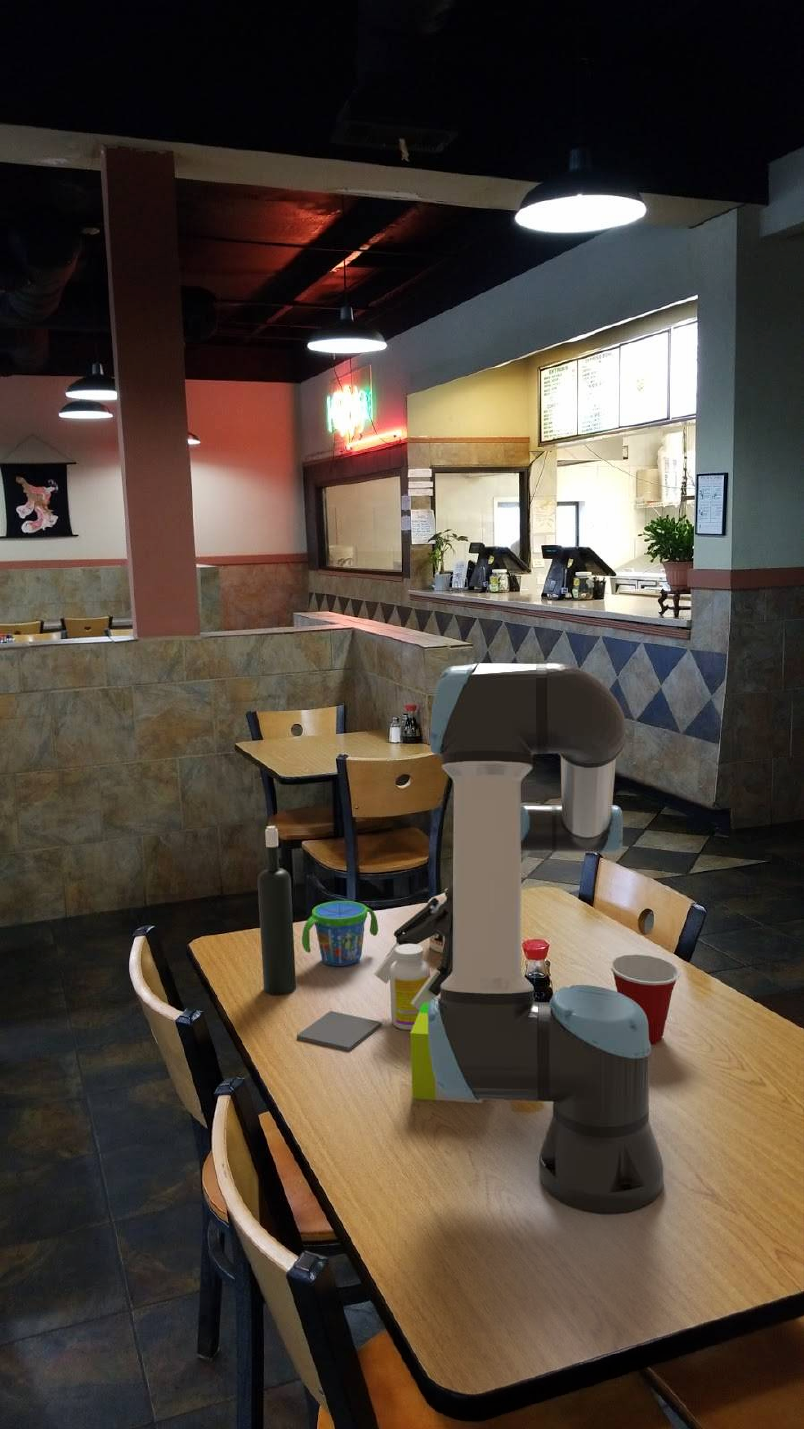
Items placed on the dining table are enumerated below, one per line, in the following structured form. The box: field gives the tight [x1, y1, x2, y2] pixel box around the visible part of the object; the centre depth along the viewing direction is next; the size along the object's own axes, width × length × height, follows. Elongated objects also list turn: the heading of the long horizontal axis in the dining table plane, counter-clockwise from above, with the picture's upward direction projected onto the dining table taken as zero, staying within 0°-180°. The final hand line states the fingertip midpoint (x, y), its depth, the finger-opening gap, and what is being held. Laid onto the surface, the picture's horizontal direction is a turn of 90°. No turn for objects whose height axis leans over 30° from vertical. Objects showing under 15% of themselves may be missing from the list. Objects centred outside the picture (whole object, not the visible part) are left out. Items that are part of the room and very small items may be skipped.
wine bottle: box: [257, 825, 297, 996], centre depth 191 cm, size 6×6×30 cm
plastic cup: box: [609, 953, 682, 1046], centre depth 169 cm, size 11×11×12 cm
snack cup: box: [301, 900, 379, 967], centre depth 205 cm, size 16×10×10 cm
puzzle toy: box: [409, 1003, 484, 1104], centre depth 157 cm, size 10×10×10 cm
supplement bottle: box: [389, 944, 431, 1031], centre depth 177 cm, size 7×7×13 cm
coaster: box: [296, 1010, 383, 1052], centre depth 176 cm, size 10×10×1 cm
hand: (397, 993), depth 176 cm, fingers open, 13 cm apart
